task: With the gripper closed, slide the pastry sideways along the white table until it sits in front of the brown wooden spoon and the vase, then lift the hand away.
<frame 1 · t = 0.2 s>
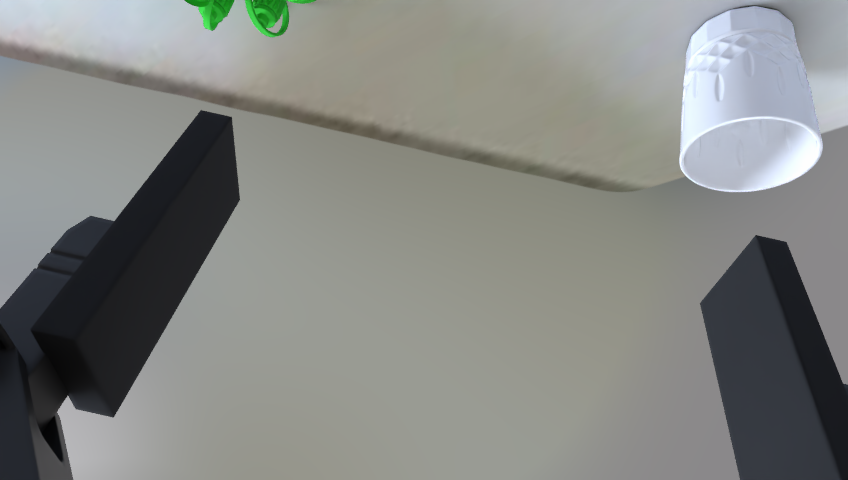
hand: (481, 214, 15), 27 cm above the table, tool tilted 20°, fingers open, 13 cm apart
white cup: (738, 41, 41), on the table
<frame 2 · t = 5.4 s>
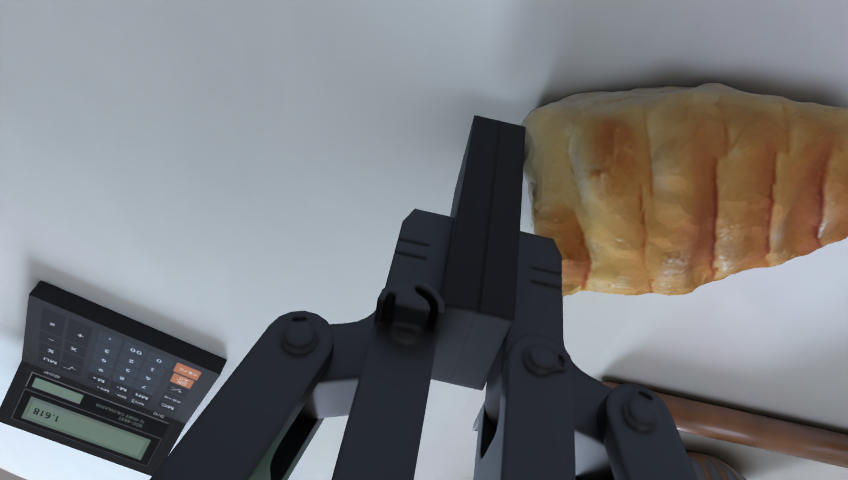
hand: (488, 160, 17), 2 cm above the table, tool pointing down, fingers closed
wooden spoon: (814, 430, 26), on the table
pastry: (657, 158, 18), on the table, touching gripper
calculator: (121, 366, 33), on the table
vase: (684, 465, 30), on the table
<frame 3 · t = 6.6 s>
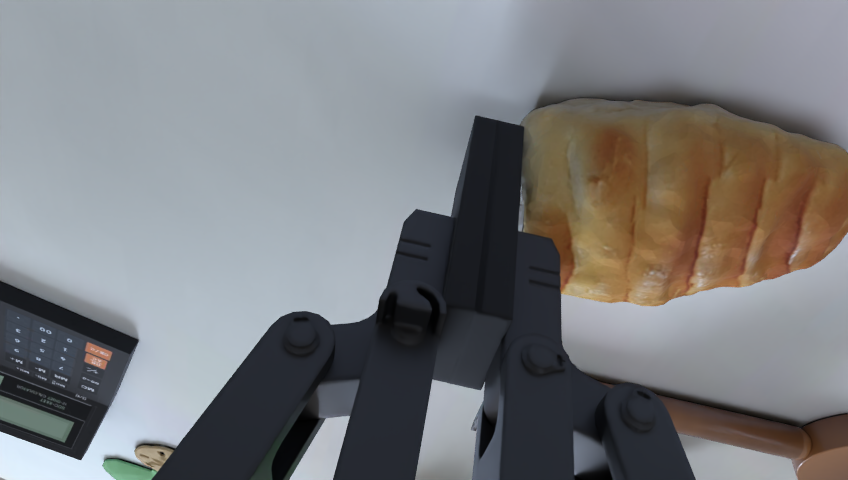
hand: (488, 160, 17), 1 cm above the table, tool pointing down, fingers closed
wooden spoon: (712, 410, 26), on the table
pastry: (644, 171, 18), on the table, touching gripper
calculator: (40, 347, 33), on the table
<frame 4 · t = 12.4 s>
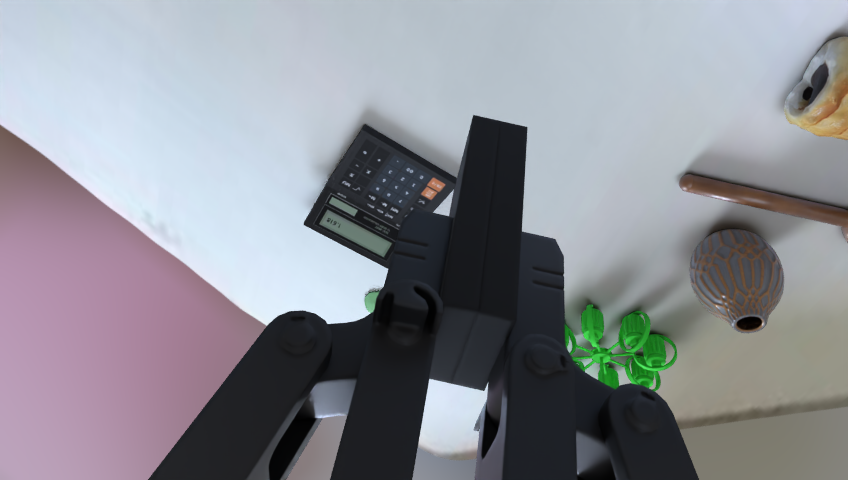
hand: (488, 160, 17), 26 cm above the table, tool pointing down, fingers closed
chandelier: (599, 338, 64), on the table
wooden spoon: (801, 203, 47), on the table
calculator: (381, 191, 54), on the table
vase: (725, 243, 52), on the table
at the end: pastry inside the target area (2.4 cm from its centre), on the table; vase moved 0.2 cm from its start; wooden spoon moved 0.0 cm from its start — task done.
